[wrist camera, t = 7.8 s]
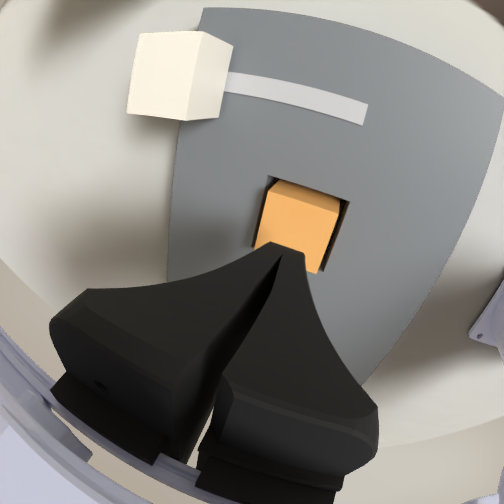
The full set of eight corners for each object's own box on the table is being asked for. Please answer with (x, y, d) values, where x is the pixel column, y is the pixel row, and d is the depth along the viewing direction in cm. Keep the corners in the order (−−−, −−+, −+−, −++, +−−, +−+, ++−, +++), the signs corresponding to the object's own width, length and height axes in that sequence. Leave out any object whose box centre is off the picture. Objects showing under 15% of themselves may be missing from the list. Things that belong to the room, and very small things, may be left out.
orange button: (340, 197, 14) (338, 214, 12) (321, 250, 15) (316, 274, 13) (280, 178, 14) (268, 190, 12) (267, 232, 16) (253, 252, 14)
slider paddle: (233, 46, 10) (202, 31, 8) (218, 117, 12) (185, 120, 9) (177, 43, 11) (139, 33, 8) (165, 109, 12) (126, 113, 10)
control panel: (488, 99, 9) (515, 99, 6) (349, 381, 20) (346, 410, 18) (220, 17, 11) (193, 2, 9) (178, 318, 23) (160, 342, 20)
